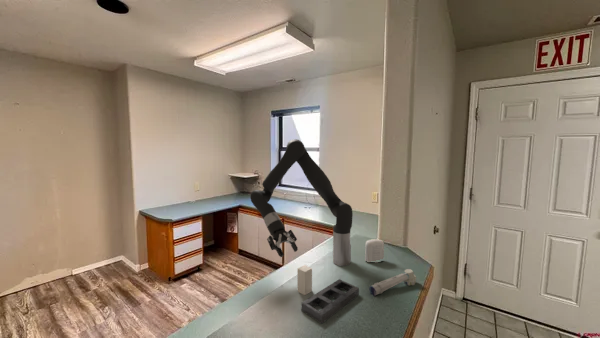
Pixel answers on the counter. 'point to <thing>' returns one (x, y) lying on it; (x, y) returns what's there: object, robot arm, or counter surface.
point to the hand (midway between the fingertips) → (289, 253)
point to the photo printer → (374, 250)
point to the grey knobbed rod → (393, 282)
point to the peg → (304, 280)
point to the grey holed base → (327, 304)
